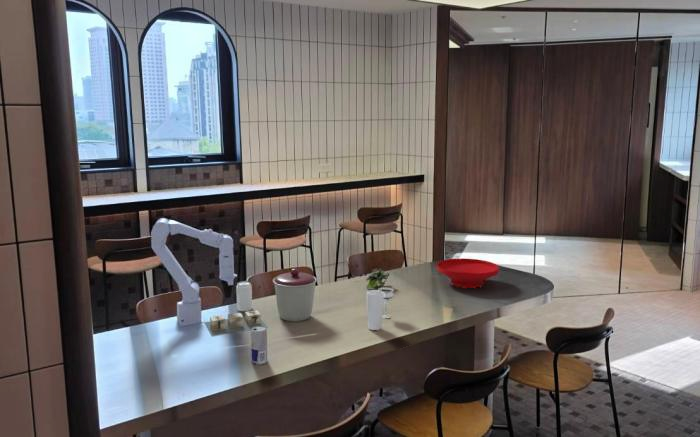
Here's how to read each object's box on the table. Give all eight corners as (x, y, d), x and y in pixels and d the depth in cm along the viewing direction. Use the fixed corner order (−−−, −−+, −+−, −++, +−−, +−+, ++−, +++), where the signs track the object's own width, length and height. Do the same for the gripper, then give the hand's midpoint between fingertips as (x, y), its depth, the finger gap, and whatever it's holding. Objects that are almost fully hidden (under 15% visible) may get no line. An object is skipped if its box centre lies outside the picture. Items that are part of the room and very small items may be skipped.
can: (248, 312, 240) (248, 285, 238) (234, 311, 241) (233, 284, 239) (254, 307, 246) (253, 281, 244) (240, 306, 248) (239, 280, 246)
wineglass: (395, 315, 238) (396, 288, 236) (389, 320, 232) (390, 292, 230) (380, 313, 241) (381, 286, 239) (374, 318, 235) (375, 290, 232)
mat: (211, 337, 213) (211, 336, 213) (204, 323, 227) (204, 322, 227) (268, 329, 222) (268, 327, 222) (257, 316, 236) (257, 314, 236)
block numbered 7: (248, 325, 224) (248, 315, 223) (245, 321, 229) (245, 311, 228) (260, 323, 226) (260, 314, 225) (257, 319, 231) (257, 310, 230)
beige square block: (212, 330, 218) (212, 320, 218) (210, 326, 223) (210, 316, 222) (225, 328, 220) (225, 318, 220) (223, 324, 225) (222, 314, 224)
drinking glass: (385, 326, 225) (385, 290, 223) (380, 332, 219) (381, 295, 216) (368, 324, 227) (369, 289, 225) (363, 330, 221) (364, 293, 218)
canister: (293, 307, 247) (292, 261, 243) (325, 316, 237) (325, 267, 233) (264, 319, 233) (263, 270, 229) (297, 328, 222) (297, 277, 219)
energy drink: (252, 358, 195) (251, 325, 193) (267, 358, 195) (267, 325, 193) (250, 365, 189) (250, 331, 187) (266, 365, 190) (266, 331, 188)
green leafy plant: (375, 295, 281) (384, 274, 285) (388, 297, 272) (397, 275, 276) (358, 286, 276) (368, 264, 280) (371, 287, 267) (381, 265, 271)
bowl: (504, 293, 269) (505, 273, 267) (440, 293, 269) (441, 273, 267) (489, 276, 299) (490, 257, 297) (432, 275, 299) (433, 257, 297)
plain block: (230, 328, 221) (230, 318, 221) (228, 323, 226) (227, 314, 225) (243, 326, 223) (243, 316, 223) (240, 322, 228) (240, 312, 227)
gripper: (240, 268, 223) (241, 301, 226) (232, 260, 236) (233, 291, 239) (222, 270, 220) (223, 303, 223) (215, 261, 233) (216, 293, 236)
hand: (227, 297), depth 231 cm, fingers closed
